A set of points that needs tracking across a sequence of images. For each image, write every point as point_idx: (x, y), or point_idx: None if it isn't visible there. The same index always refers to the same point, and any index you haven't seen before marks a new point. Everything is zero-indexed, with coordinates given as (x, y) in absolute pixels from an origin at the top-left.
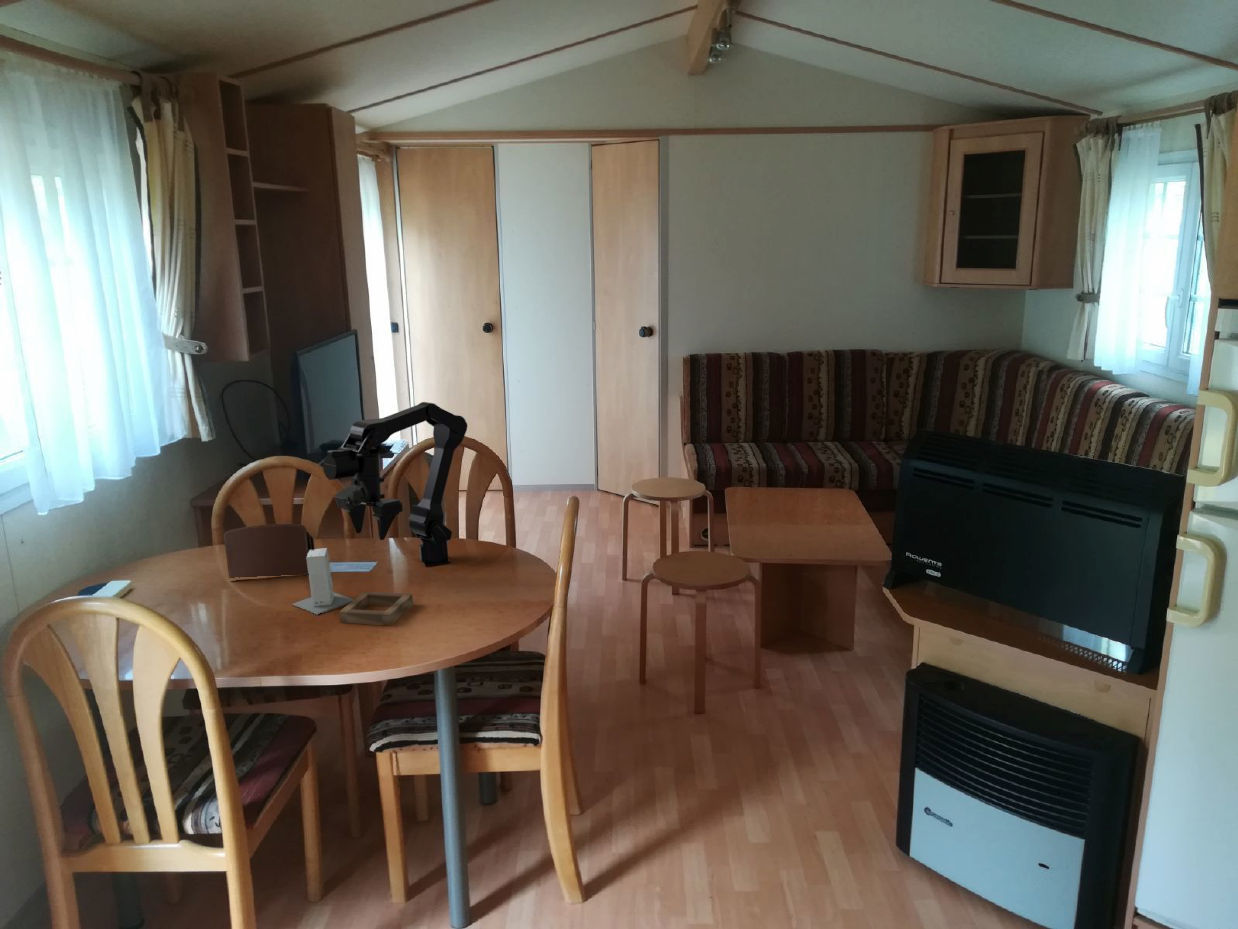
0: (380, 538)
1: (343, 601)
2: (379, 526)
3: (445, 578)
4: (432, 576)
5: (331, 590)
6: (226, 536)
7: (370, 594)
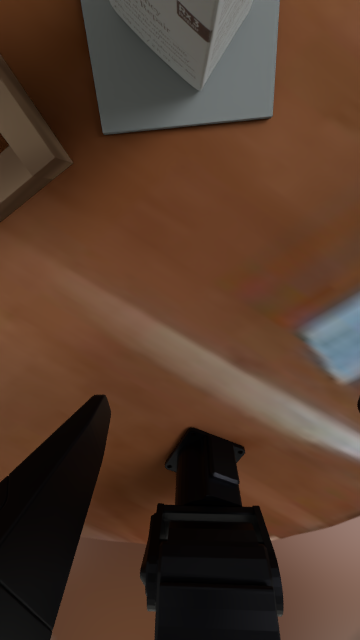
0: (87, 401)
1: (113, 85)
2: (6, 493)
3: None
4: (120, 401)
5: (140, 13)
6: None
7: (6, 157)
